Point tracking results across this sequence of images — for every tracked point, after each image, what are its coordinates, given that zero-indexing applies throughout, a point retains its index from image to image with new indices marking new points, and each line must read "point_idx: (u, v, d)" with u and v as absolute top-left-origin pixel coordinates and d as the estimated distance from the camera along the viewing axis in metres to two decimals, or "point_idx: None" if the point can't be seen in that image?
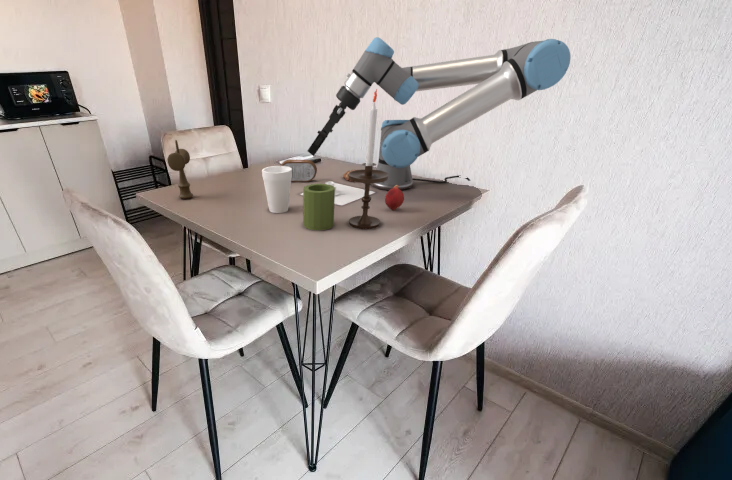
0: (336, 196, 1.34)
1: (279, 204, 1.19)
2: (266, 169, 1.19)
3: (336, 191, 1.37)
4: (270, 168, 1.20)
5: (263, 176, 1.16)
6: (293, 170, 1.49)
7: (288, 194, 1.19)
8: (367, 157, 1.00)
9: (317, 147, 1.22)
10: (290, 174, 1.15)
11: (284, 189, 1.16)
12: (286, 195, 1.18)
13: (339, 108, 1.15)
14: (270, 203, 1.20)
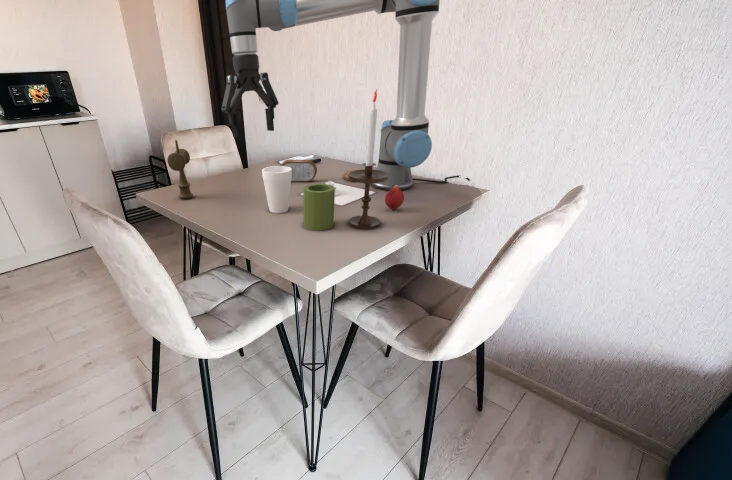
0: (336, 196, 1.34)
1: (279, 204, 1.19)
2: (266, 169, 1.19)
3: (336, 191, 1.37)
4: (270, 168, 1.20)
5: (263, 176, 1.16)
6: (293, 170, 1.49)
7: (288, 194, 1.19)
8: (367, 157, 1.00)
9: (235, 126, 1.13)
10: (290, 174, 1.15)
11: (284, 189, 1.16)
12: (286, 195, 1.18)
13: (227, 77, 1.08)
14: (270, 203, 1.20)
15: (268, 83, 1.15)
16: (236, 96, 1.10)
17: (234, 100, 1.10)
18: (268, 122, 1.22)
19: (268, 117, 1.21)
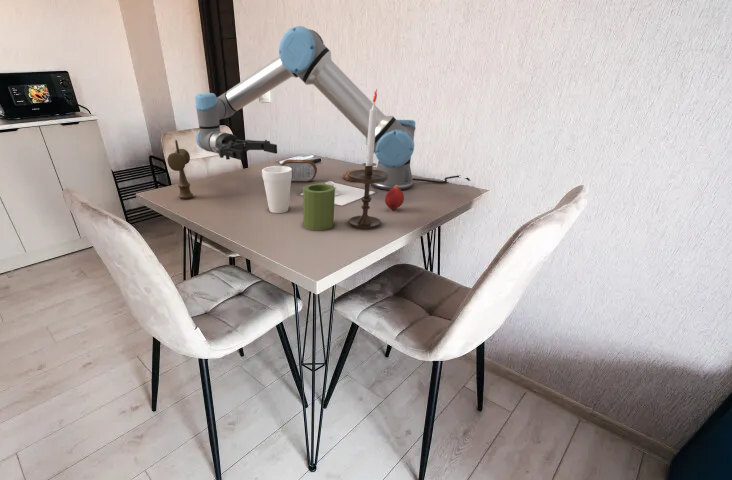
0: (336, 196, 1.34)
1: (279, 204, 1.19)
2: (266, 169, 1.19)
3: (336, 191, 1.37)
4: (270, 168, 1.20)
5: (263, 176, 1.16)
6: (293, 170, 1.49)
7: (288, 194, 1.19)
8: (367, 157, 1.00)
9: (235, 151, 1.18)
10: (290, 174, 1.15)
11: (284, 189, 1.16)
12: (286, 195, 1.18)
13: (216, 149, 1.27)
14: (270, 203, 1.20)
15: (252, 140, 1.32)
16: None
17: None
18: (270, 149, 1.25)
19: (268, 148, 1.26)
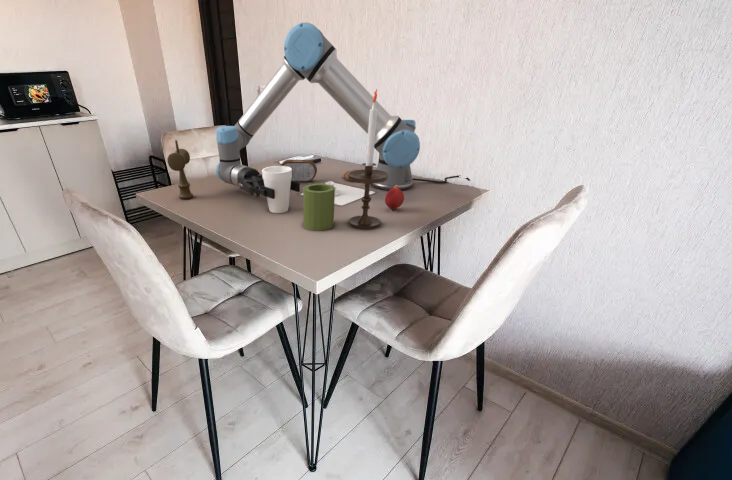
0: (336, 196, 1.34)
1: (279, 204, 1.19)
2: (266, 169, 1.19)
3: (336, 191, 1.37)
4: (270, 168, 1.20)
5: (263, 176, 1.16)
6: (293, 170, 1.49)
7: (288, 194, 1.19)
8: (367, 157, 1.00)
9: (266, 190, 1.15)
10: (290, 174, 1.15)
11: (284, 189, 1.16)
12: (286, 195, 1.18)
13: (239, 186, 1.24)
14: (270, 203, 1.20)
15: None
16: (253, 185, 1.22)
17: (254, 186, 1.21)
18: (292, 187, 1.21)
19: (290, 186, 1.22)
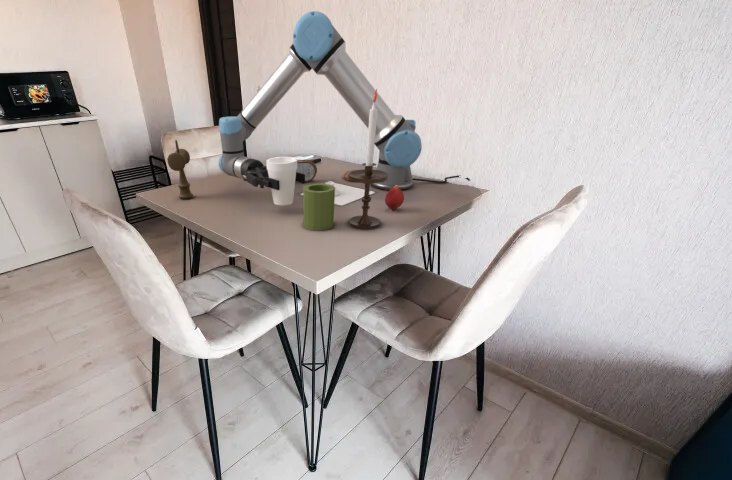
0: (336, 196, 1.34)
1: (284, 196, 1.16)
2: (270, 160, 1.15)
3: (336, 191, 1.37)
4: (275, 159, 1.16)
5: (267, 167, 1.12)
6: None
7: (293, 186, 1.16)
8: (367, 157, 1.00)
9: (271, 181, 1.12)
10: (295, 165, 1.12)
11: (289, 180, 1.13)
12: (291, 187, 1.15)
13: (243, 177, 1.21)
14: (274, 195, 1.16)
15: None
16: (257, 176, 1.18)
17: (258, 177, 1.17)
18: (298, 178, 1.18)
19: None
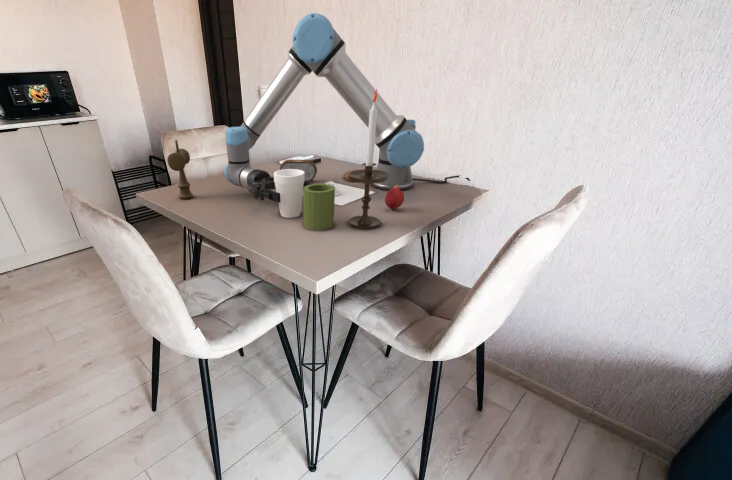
0: (336, 196, 1.34)
1: (291, 209, 1.15)
2: (278, 172, 1.15)
3: (336, 191, 1.37)
4: (282, 171, 1.16)
5: (275, 180, 1.12)
6: None
7: (300, 198, 1.15)
8: (367, 157, 1.00)
9: (272, 193, 1.11)
10: (303, 178, 1.11)
11: (296, 193, 1.12)
12: (298, 199, 1.14)
13: (248, 188, 1.20)
14: (282, 207, 1.16)
15: None
16: None
17: None
18: None
19: (303, 187, 1.19)
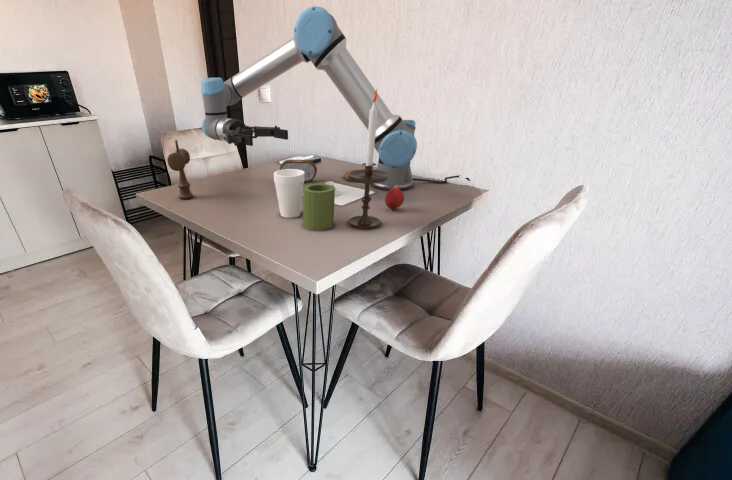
0: (336, 196, 1.34)
1: (291, 209, 1.15)
2: (278, 172, 1.15)
3: (336, 191, 1.37)
4: (282, 171, 1.16)
5: (275, 180, 1.12)
6: None
7: (300, 198, 1.15)
8: (367, 157, 1.00)
9: (244, 137, 1.11)
10: (303, 178, 1.11)
11: (296, 193, 1.12)
12: (298, 199, 1.14)
13: (223, 136, 1.21)
14: (282, 207, 1.16)
15: (261, 127, 1.25)
16: None
17: None
18: (281, 135, 1.19)
19: (278, 134, 1.20)
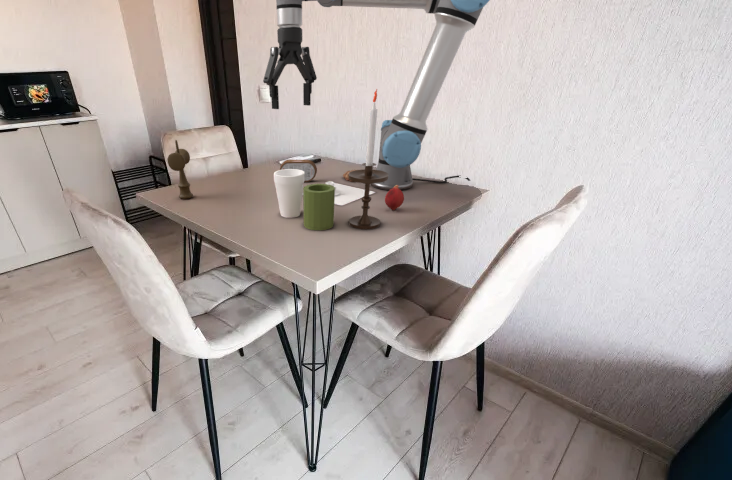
0: (336, 196, 1.34)
1: (291, 209, 1.15)
2: (278, 172, 1.15)
3: (336, 191, 1.37)
4: (282, 171, 1.16)
5: (275, 180, 1.12)
6: None
7: (300, 198, 1.15)
8: (367, 157, 1.00)
9: (275, 98, 1.17)
10: (303, 178, 1.11)
11: (296, 193, 1.12)
12: (298, 199, 1.14)
13: (272, 48, 1.11)
14: (282, 207, 1.16)
15: (309, 57, 1.18)
16: (278, 68, 1.14)
17: (276, 72, 1.14)
18: (305, 97, 1.25)
19: (305, 92, 1.24)
